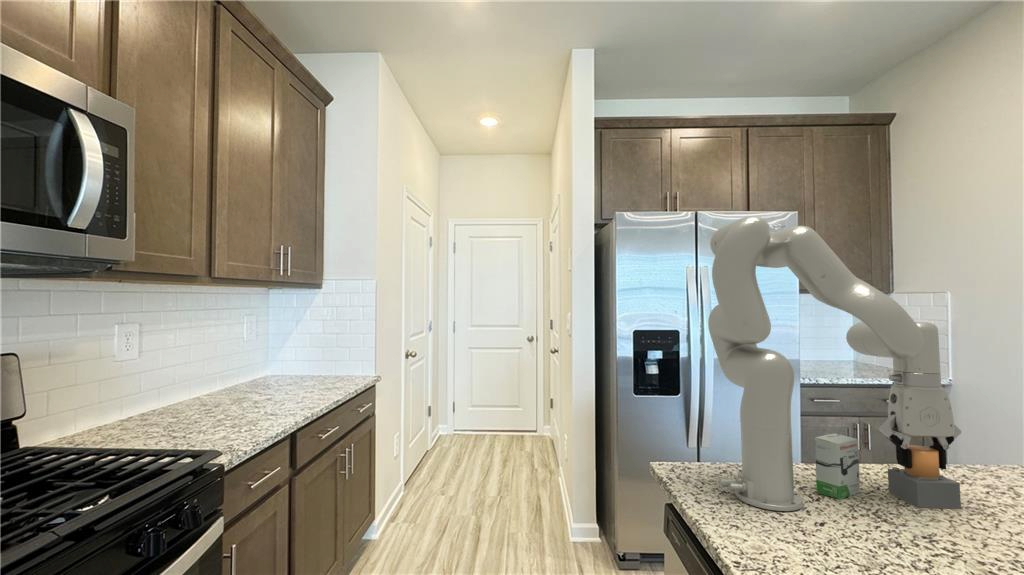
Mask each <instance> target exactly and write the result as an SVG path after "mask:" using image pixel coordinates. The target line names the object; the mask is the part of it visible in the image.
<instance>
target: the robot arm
mask: <svg viewBox="0 0 1024 575" xmlns="http://www.w3.org/2000/svg"><path fill="white" fill-rule="evenodd" d="M709 242H710V243H709V244H710V250H711V252H712V254H713V255H714V256H715V257H714V259H713V263H712V268H711V279H712V284H713V288H714V292H715V296H716V300H717V303H718V304H717V305H715V306H714V307H713V309H711V311H710V313H709V316H708V319H707V320H708V321H707V322H708V323H707V324H708V331H709V335H710V339H711V342H712V345H713V347H714V348H713V349H714V351H715V353H716V354H715V355H716V358H717V360H718V362H719V365H720V368H721V370H722V372H723V374H724V376H725V377H726V378H727V380H729V381H730V382H731V383H732V384H733V385H735V386H738V387H740V388H743V392H742V396H741V401H740V407H739V410H740V411H739V422H740V446H741V447H740V448H741V471H737V475H734V476H733V477H728V476H725V477H724V476H723V477H722V476H719V477H718V484H719V485H718V486H720V487H721V488H722V487H723V488H724V487H725V488H727V487H728V488H729V490H730V491H734V494H735V496H736V497H737V499H738V500H740V501H741V502H743V503H745V504H747V505H750V506H752V507H756V508H759V509H764V510H768V511H769V510H770V511H776V512H793V511H797V510H800V509H802V508H803V507H804V498H803V497H802V496H801V495H800V494H798V493H797V492H795V487H794V486H795V484H794V482H795V481H794V480H795V478H794V457H793V436H792V435H793V432H792V431H793V430H792V398H793V393H794V392H793V391H794V386H795V371H794V367H793V365H792V364H791V362H790V360H789V359H788V358H787V357H786V356H785V355H783V354H782V353H780V352H777V351H775V350H772V349H768V348H763V347H758V345H757V344H759V343H762V342H764V341H766V340H767V338H769V336H770V334H771V331H772V323H771V319H770V316H769V313H768V311H767V307H766V305H765V302H764V301H765V300H764V299H763V297H762V293H761V290H760V287H759V284H758V278H757V274H756V269H757V267H762V268H770V269H771V268H772V269H779V268H788V269H789V270H790V271H791V272H792V273H793V275H794V276H795V277H796V278H797V280H799V281H800V283H801V284H802V285H803V287H804V288H805V289H807V291H808V292H809V293H810V295H811V296H812V297H813V298H814V299H815V300H817V301H819V302H821V303H822V304H824V305H827V306H830V307H832V308H836V309H838V310H840V311H843V312H845V313H847V314H850V315H852V316H853V317H855V318H856V319H857V320H860V322H858V323H854V324H853V325H852V326H851V327H849V329H848V330H847V332H846V335H845V336H846V337H845V338H846V342H847V345H848V346H849V347H850V348H851V349H852V350H854V351H855V352H857V353H859V354H861V355H865V356H872V357H880V358H881V357H882V358H890V359H892V369H893V371H892V374H889V375H888V380H889V381H892V382H893V384H892V385H891V386H890V390H889V396H888V402H887V407H888V408H887V419H886V420H885V421H884V422H883V423H882V424H881V425H880V426H879V428H878V430H879V432H880V433H882V434H883V436H885V437H886V438H887V439H888V440H889V441H890V443H892V444H893V446H895V453H896V454H895V456H896V461H897V465H899V466H901V467H903V468H904V467H906V468H908V469H911V468H912V455H911V449H908V445H910V443H911V440H912V437H916V438H929V440H930V441H931V444H932V445H929V448H933V449H936V450H938V451H939V470H940V469H941V470H947V453H946V451H947V450H949V449H950V445H951V444H953V442H954V441H955V439H956V438H958V437H959V435H961V434H962V430H961V429H960V428H959V427H958V426H956V424H955V422H954V414H953V409H952V408H953V407H952V404H951V399H950V397H949V394H948V390H947V388H946V387H942V375H941V361H940V360H941V357H940V355H941V354H940V342H939V341H940V340H939V330H938V327H937V325H936V324H934V323H931V322H924V321H922V322H921V321H915V320H914V319H913V318H912V317H911V315H910V314H909V313H908V312H907V310H905V308H904V307H902V306H901V304H899V303H898V302H897V301H896V300H894V299H893V298H892V297H891V296H889V295H887V294H886V293H884V292H882V291H881V290H879V289H877V288H876V287H874V286H873V285H871V284H869V283H868V282H866V281H865V280H862V279H860V278H858V277H857V276H856V275H855V274H853V273H852V272H851V270H850V269H849V268H848V267H847V266H846V265H845V263H843V261H842V260H841V259H840V258H839V257H838V255H837V254H836V253H835V252H834V250H833V249H831V247H830V246H829V245H828V244H827V243H826V242H825V240H824V239H823V238H822V237H821V236H820V235H819V234H818V233H817V231H815V230H814V229H813V228H812V227H809V226H807V225H806V226H805V225H796V226H790V227H787V228H783V229H781V230H778V231H772V230H771V226H770V225H769V223H768V221H767V220H766V219H765V218H763V217H761V216H756V215H751V216H745V217H742V218H738V219H736V220H735V221H732V222H730V223H728V224H726V225H724V226H721V227H719V228H718V229H717V230H716V231H714V232H713V234H712V236H711V237H710V240H709ZM894 432H895V433H894Z"/></svg>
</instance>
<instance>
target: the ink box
mask: <svg viewBox="0 0 1024 575" xmlns="http://www.w3.org/2000/svg"><path fill="white" fill-rule="evenodd" d="M814 445H815V446H814V448H815V449H814V450H815V453H814V455H815V483H816V484H815V487H816V493H818V494H821V495H825V496H828V497H830V496H831V497H830V498H834V497H835V499H837V498H838V499H837V500H842V499H841V498H843V499H845V498H848V497H851V496H854V495H857V494H860V493H861V487H860V485H861V481H860V480H861V479H860V476H861V475H860V456H859V455H860V453H859V451H860V450H859V439H858V438H855V437H851V436H847V435H843V434H839V433H830V434H824V435H821V436H816V437H814ZM859 492H860V493H859ZM856 493H857V494H856ZM853 494H854V495H853ZM850 495H851V496H850ZM847 496H848V497H847ZM844 497H845V498H844Z"/></svg>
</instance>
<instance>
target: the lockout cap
mask: <svg viewBox="0 0 1024 575" xmlns="http://www.w3.org/2000/svg"><path fill="white" fill-rule="evenodd" d="M929 447H930V446H929ZM929 447H928V446H923V445H918V444H917V445H916V444H909V445H908V449H911V455H912V468H911V469H908V468H906V467H903V469H904V470H905V471H906V472H908V473H910V474H913V475H917V476H922V477H929V478H938V477H940V474H941V473H940V468H939V451H938V450H936V449H933V448H929Z"/></svg>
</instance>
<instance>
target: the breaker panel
mask: <svg viewBox="0 0 1024 575" xmlns="http://www.w3.org/2000/svg"><path fill="white" fill-rule="evenodd" d="M887 478H888V479H887V480H888V481H887V482H888V492H889V493H890V494H892V495H894V496H896V497H897V498H899V499H901V500H903V501H904V502H907V503H908V504H910V505H912V506H914V507H916V508H918V509H919V508H920V509H921V508H922V509H946V510H947V509H950V510H951V509H952V510H955V509H956V510H961V509H962V504H961V501H962V500H961V485H960V483H959V482H957V481H955V480H952V479H950V478H948V477H946V476H943V475H940V477H938V479H939V480H920V479H917V478H915V477H913V476H910V475H908V474H906V471H905V470H904V468H899V467H897V466H892V467H891V468H887Z"/></svg>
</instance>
